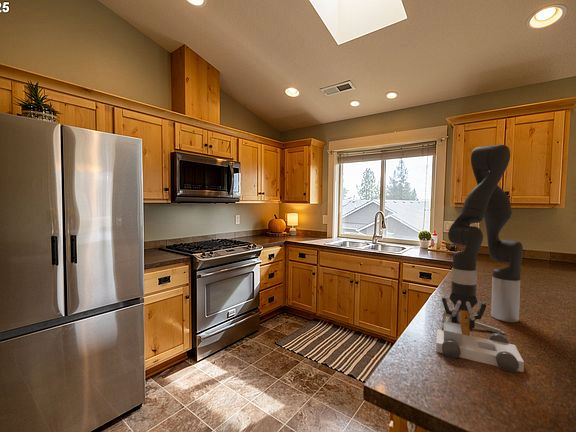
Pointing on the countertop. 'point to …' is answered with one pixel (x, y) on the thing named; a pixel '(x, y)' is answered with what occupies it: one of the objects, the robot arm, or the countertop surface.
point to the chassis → (479, 348)
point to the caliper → (476, 324)
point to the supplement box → (463, 321)
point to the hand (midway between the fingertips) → (462, 327)
